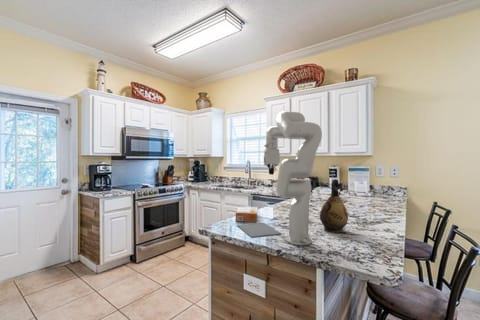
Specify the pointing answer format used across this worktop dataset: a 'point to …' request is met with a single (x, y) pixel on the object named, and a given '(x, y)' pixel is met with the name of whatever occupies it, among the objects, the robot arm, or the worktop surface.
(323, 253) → the worktop surface
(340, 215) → the ceramic jug
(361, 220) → the worktop surface
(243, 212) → the cracker box
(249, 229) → the mat
